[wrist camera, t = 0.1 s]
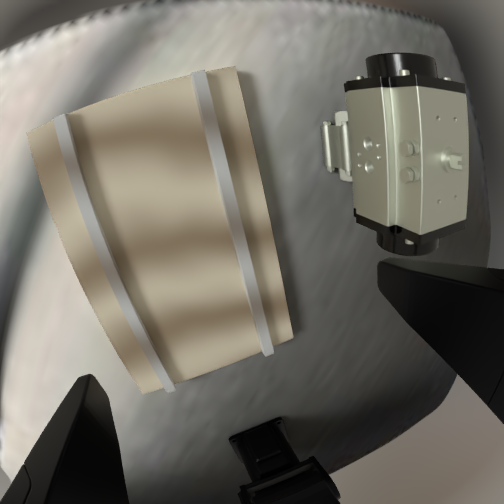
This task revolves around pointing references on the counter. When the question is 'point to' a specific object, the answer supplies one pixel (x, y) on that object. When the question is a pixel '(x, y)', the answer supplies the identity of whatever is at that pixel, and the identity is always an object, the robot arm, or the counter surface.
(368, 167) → the pneumatic valve
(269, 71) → the counter surface
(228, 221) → the mounting panel
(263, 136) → the counter surface
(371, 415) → the counter surface
